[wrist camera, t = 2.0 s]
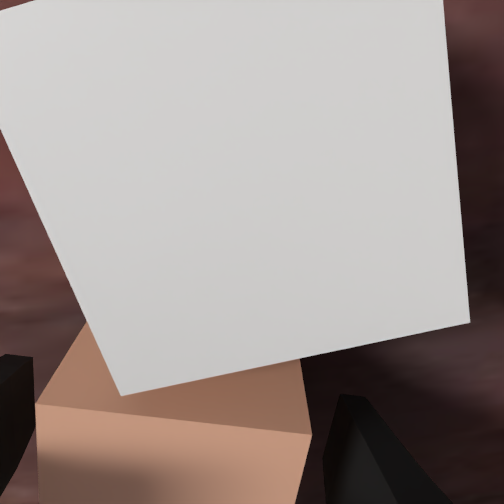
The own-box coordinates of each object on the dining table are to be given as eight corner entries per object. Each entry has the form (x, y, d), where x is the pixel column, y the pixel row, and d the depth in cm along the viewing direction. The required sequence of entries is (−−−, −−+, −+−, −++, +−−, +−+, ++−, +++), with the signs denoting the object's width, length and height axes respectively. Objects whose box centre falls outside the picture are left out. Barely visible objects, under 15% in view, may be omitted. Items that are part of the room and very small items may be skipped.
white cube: (377, 210, 11) (469, 322, 6) (173, 258, 11) (120, 396, 7) (340, -29, 9) (432, -119, 4) (97, 40, 10) (-47, 24, 5)
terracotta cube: (262, 437, 14) (268, 605, 9) (107, 420, 13) (42, 584, 9) (290, 303, 12) (311, 434, 8) (112, 279, 12) (35, 403, 7)
